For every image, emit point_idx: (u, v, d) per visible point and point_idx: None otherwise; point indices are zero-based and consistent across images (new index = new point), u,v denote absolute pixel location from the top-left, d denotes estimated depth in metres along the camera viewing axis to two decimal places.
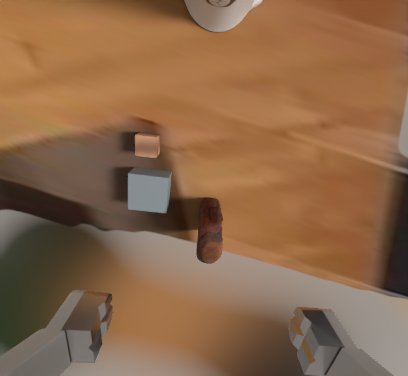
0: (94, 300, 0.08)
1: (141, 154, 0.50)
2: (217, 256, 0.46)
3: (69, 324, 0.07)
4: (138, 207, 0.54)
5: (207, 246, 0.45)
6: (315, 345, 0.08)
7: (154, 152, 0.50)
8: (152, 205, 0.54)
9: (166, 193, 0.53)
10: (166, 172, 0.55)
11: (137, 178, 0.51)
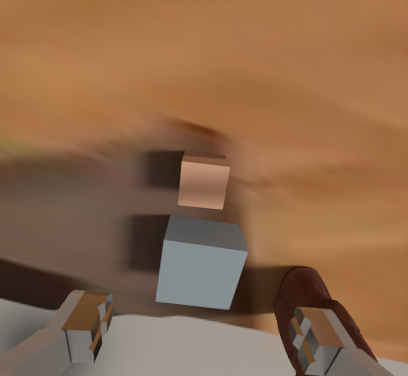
0: (94, 300, 0.08)
1: (192, 203, 0.23)
2: None
3: (69, 324, 0.07)
4: (176, 299, 0.27)
5: None
6: (315, 345, 0.08)
7: (221, 198, 0.22)
8: (204, 297, 0.27)
9: (237, 277, 0.26)
10: (233, 229, 0.28)
11: (182, 249, 0.24)
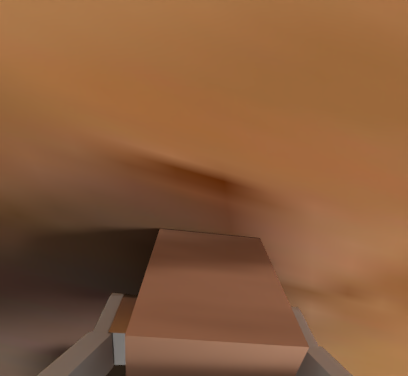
0: (134, 303, 0.08)
1: None
2: None
3: (115, 327, 0.07)
4: None
5: None
6: None
7: None
8: None
9: None
10: None
11: None
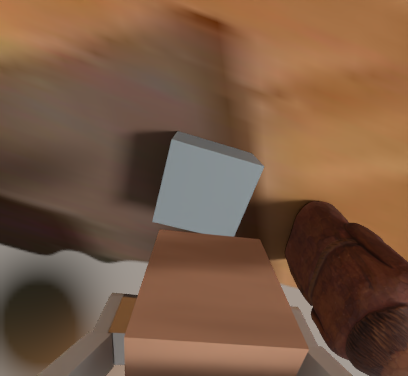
0: (134, 303, 0.08)
1: None
2: None
3: (115, 327, 0.07)
4: (176, 221, 0.24)
5: None
6: None
7: None
8: (207, 221, 0.24)
9: (247, 199, 0.23)
10: (245, 153, 0.25)
11: (191, 154, 0.21)
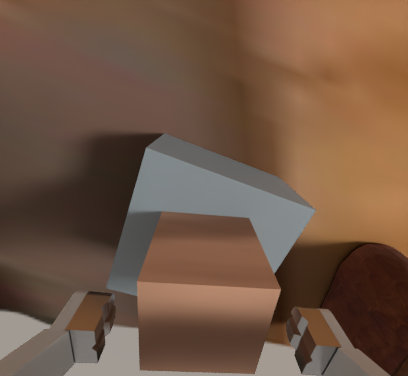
0: (97, 300, 0.08)
1: (177, 366, 0.09)
2: None
3: (73, 324, 0.07)
4: None
5: None
6: (312, 345, 0.08)
7: (252, 355, 0.09)
8: None
9: (276, 263, 0.13)
10: (272, 178, 0.16)
11: (183, 179, 0.11)
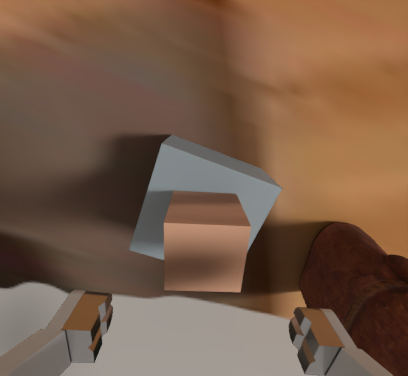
0: (94, 300, 0.08)
1: (189, 286, 0.13)
2: None
3: (69, 324, 0.07)
4: (161, 251, 0.18)
5: None
6: (315, 345, 0.08)
7: (237, 276, 0.13)
8: None
9: (256, 229, 0.18)
10: (255, 168, 0.20)
11: (187, 165, 0.16)
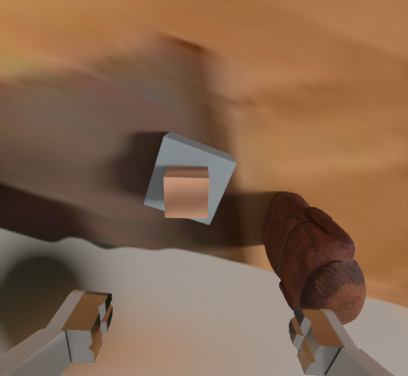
0: (94, 300, 0.08)
1: (178, 215, 0.24)
2: (357, 315, 0.21)
3: (69, 324, 0.07)
4: (163, 205, 0.29)
5: (341, 295, 0.20)
6: (315, 345, 0.08)
7: (204, 208, 0.24)
8: None
9: (222, 190, 0.28)
10: (224, 153, 0.31)
11: (178, 149, 0.26)
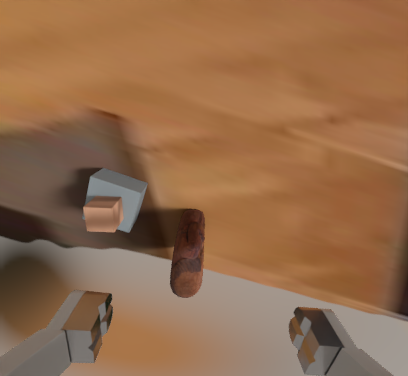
0: (94, 300, 0.08)
1: (95, 229, 0.38)
2: (194, 290, 0.35)
3: (69, 324, 0.07)
4: None
5: (181, 278, 0.34)
6: (315, 345, 0.08)
7: (111, 226, 0.38)
8: None
9: (134, 210, 0.42)
10: (141, 183, 0.45)
11: (101, 184, 0.40)
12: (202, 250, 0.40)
